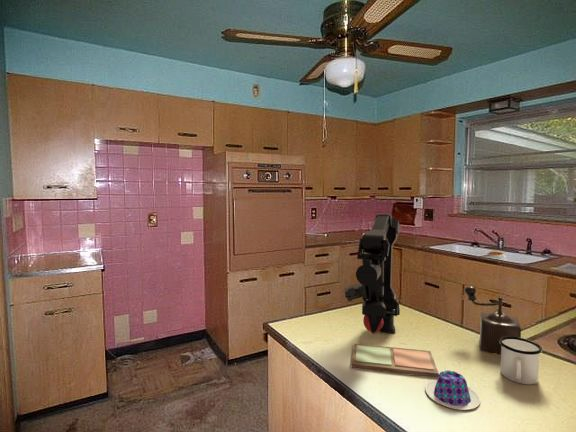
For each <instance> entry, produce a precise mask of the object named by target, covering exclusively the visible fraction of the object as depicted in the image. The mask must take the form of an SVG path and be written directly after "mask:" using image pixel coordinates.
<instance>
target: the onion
mask: <svg viewBox="0 0 576 432" xmlns="http://www.w3.org/2000/svg"><path fill="white" fill-rule="evenodd" d="M363 326H364V327H365V329H366V330H367V331H368V332H369V333H371V334H376V333H379V332H378V331H379V330H380V329H381V328H382V327H383V318H382V320H381V322H380V324H379V326H378V328H377V330H376V332H375V333H372V332H371V327H370V323H369V318H368V316H367V315H363Z"/></svg>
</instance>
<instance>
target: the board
mask: <svg viewBox="0 0 576 432" xmlns="http://www.w3.org/2000/svg"><path fill="white" fill-rule="evenodd" d="M351 369H358V370H367V371H373V372H375V371H376V372H385V373H390V374H391V373H393V374H399V375H400V374H402V375H410V376H418V377H428V378H434V379H435V378H437V379H438V376H439V374H440V372H439V370H438V368H437V365H436V363H435V360H434V357H433V354H432V351H431V350H424V349H414V348H403V347H393V346H385V345H384V346H383V345H372V344H362V343H353V349H352V357H351Z"/></svg>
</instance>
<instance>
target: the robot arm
mask: <svg viewBox="0 0 576 432" xmlns="http://www.w3.org/2000/svg"><path fill="white" fill-rule="evenodd" d="M400 229H401V227H400V222H399V219H397V218H396V217H395V218H394V217H393V216H392V214H390V213H378V214H376V215H375V219H374V221H373V225H372V227H371V229H370V230H367V231H365V232H364V233H363V234H362V237H360V239H359V243H358V251H357V256H356V259H357V260H362V263H361V265H359V266H358V267H357V269H356V271H355V277H356V280H357V282H359V283H355V284H353V285H349V286H346V287H345V288H344V290H343V293H344V295H345V296H344V297H345V298H346V301H347V302H351V301H353V300H357V299H361V298H362V300H363V302H362V304H361V306H362V307H361V315H363V316H365V315H367V316H368V318H369V323H370V327H371V332H372V333H371V332H370V333H371V334H373V333H374V334H376V333H386V334H387V333H388V334H396V327H395V322H394V321H395V317H398V316H400V314H401V310H400V309H401V308H400V303H399V301H398V298H397V293H396V292H395V289H394V288H393V284H392V282H393V251H394V250H393V247H394V245H395V243H396V241H397V240H398V239H399V238H398V237H399V235H400V233H401V232H400V231H401V230H400ZM382 318H383V327H382V328H381V329H380V330H379V331H378V332H376V330H377V328H378V326H379V324H380V322H381V320H382ZM375 332H376V333H375Z"/></svg>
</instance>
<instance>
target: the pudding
mask: <svg viewBox="0 0 576 432" xmlns="http://www.w3.org/2000/svg"><path fill="white" fill-rule="evenodd" d="M425 385H426V386H425V392H426V394H427V395H428V397H429V398H430V399H431V400H433V401H434V402H436V403H438V404H440V405H442V406H444V407H447V408H449V409H455V410H460V411H461V410H462V411H463V410H464V411H465V410H473V409H476V408H477V407H478V406H479V405H480V404H481V399H480V396H479V394H477V392H476V391H474V390H473V389H471V387H468V383H467V380H466V379H465V377H464V375H462V374H461V373H458V372H456V371H452V370H451V371H450V370H444V371H443V370H442V371H440V372H439V376H438V378H437V379H436V380H432V381H429V382H427V384H425ZM468 403H469V404H468Z"/></svg>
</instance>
